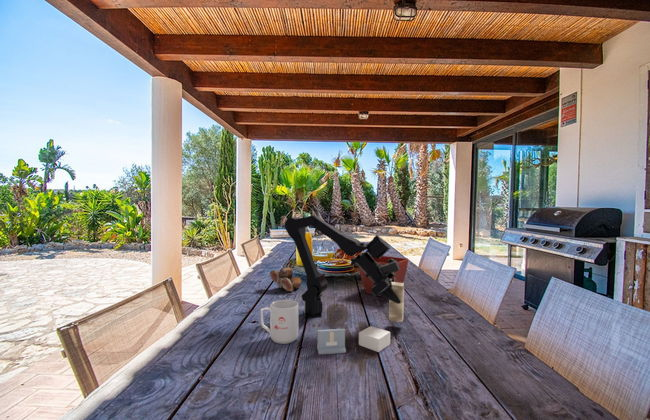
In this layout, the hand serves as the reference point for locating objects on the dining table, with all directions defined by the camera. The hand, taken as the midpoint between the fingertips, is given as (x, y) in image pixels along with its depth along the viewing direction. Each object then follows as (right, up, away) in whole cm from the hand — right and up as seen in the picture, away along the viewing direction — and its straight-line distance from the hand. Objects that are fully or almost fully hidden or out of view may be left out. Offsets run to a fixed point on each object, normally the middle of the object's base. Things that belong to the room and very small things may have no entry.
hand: (400, 300), depth 106 cm
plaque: (-25, -9, -17) cm, 32 cm away
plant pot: (+2, -9, +43) cm, 44 cm away
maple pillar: (-1, -7, +1) cm, 7 cm away
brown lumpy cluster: (-46, -9, +47) cm, 66 cm away
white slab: (-11, -10, -13) cm, 20 cm away
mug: (-41, -9, -10) cm, 43 cm away
